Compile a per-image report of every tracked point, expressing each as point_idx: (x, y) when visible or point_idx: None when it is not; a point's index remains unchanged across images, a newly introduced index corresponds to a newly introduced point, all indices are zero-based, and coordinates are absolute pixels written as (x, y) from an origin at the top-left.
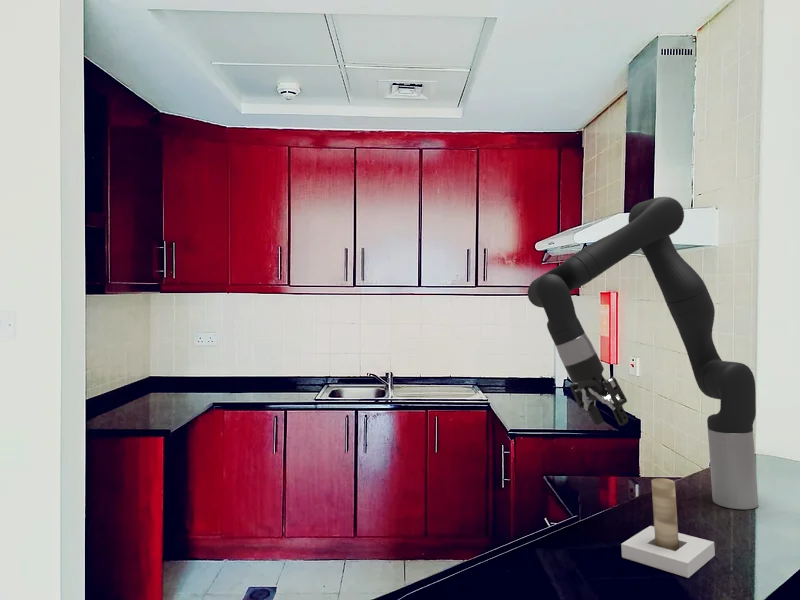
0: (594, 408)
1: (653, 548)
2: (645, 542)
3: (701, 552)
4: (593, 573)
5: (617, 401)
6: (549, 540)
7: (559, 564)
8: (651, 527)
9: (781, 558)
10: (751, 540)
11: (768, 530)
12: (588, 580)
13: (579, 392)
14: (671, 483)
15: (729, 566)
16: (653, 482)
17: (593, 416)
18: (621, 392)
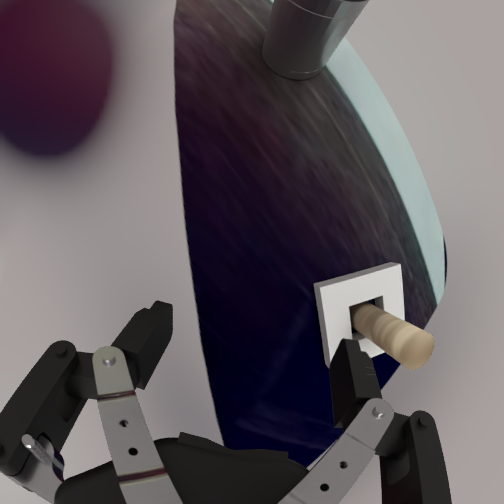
0: (140, 366)
1: (365, 347)
2: None
3: (403, 305)
4: (325, 410)
5: (405, 462)
6: (226, 399)
7: (286, 426)
8: (325, 292)
9: (425, 203)
10: (387, 175)
11: (379, 125)
12: (330, 420)
13: (48, 437)
14: (431, 347)
15: (408, 272)
16: (410, 369)
17: (156, 362)
18: (438, 463)
